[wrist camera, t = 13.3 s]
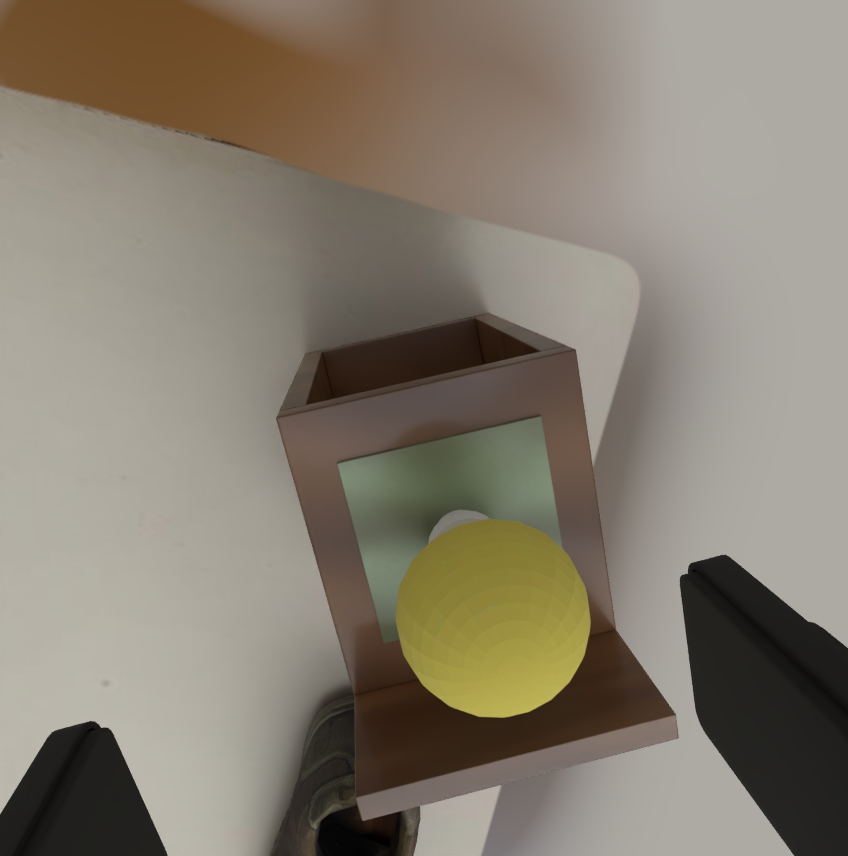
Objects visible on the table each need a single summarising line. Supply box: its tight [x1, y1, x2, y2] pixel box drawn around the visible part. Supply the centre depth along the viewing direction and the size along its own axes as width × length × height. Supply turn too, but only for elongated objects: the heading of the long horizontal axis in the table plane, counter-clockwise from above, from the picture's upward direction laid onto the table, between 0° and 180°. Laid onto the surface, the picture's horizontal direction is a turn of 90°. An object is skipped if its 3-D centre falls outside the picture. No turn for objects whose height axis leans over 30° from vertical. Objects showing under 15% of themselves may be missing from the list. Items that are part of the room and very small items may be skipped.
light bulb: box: [396, 509, 591, 718], centre depth 24 cm, size 7×7×10 cm
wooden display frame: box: [276, 313, 679, 821], centre depth 35 cm, size 15×13×24 cm
